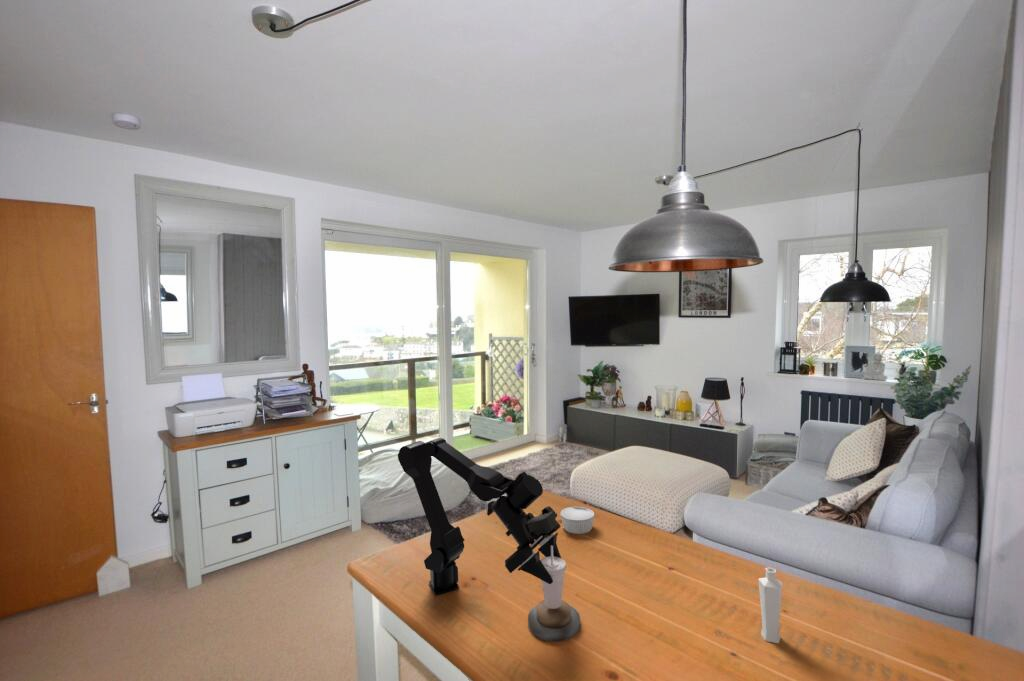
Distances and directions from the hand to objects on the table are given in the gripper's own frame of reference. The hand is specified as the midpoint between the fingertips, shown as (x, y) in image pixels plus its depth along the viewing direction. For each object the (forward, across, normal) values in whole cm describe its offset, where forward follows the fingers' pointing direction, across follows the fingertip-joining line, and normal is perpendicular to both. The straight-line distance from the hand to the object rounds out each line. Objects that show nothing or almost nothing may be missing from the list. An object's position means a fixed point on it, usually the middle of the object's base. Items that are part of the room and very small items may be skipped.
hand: (557, 576), depth 107 cm
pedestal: (+8, 0, +9) cm, 12 cm away
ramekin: (-2, +48, +19) cm, 51 cm away
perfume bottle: (+38, +18, -22) cm, 47 cm away
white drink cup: (+4, 0, +6) cm, 7 cm away
